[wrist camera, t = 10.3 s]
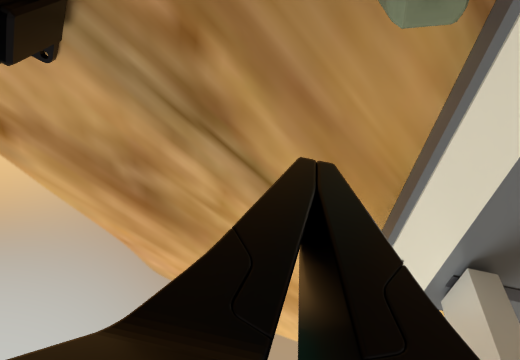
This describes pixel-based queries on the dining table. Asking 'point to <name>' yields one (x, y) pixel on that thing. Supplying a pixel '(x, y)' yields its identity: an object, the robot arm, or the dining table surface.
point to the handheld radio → (423, 12)
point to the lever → (483, 316)
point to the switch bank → (469, 173)
